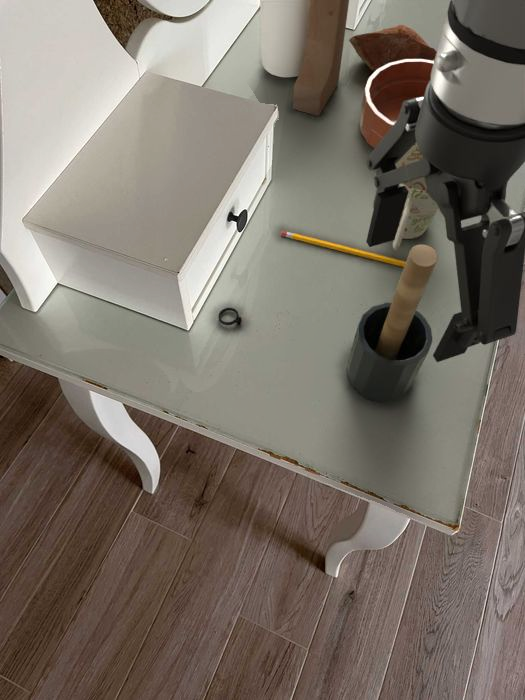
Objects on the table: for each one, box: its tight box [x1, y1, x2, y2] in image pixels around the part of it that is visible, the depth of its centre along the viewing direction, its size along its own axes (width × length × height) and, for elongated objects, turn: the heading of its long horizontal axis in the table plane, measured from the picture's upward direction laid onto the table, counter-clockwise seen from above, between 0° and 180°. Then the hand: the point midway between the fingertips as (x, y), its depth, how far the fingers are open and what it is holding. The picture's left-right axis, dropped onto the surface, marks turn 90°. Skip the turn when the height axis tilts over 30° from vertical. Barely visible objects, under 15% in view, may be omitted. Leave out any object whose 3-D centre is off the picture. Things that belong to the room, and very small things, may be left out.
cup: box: [259, 0, 310, 78], centre depth 89 cm, size 8×8×14 cm
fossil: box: [348, 24, 437, 73], centre depth 92 cm, size 13×8×10 cm
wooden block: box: [292, 0, 350, 117], centre depth 84 cm, size 9×4×18 cm, turn 157°
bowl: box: [358, 59, 434, 150], centre depth 86 cm, size 16×16×6 cm
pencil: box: [280, 230, 406, 268], centre depth 77 cm, size 1×19×1 cm, turn 72°
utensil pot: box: [346, 301, 433, 403], centre depth 64 cm, size 8×8×9 cm
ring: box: [217, 307, 243, 326], centre depth 71 cm, size 2×1×3 cm
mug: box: [392, 143, 439, 251], centre depth 74 cm, size 8×13×10 cm, turn 162°
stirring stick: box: [373, 244, 439, 360], centre depth 58 cm, size 4×4×21 cm
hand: (412, 294), depth 54 cm, fingers open, 13 cm apart
